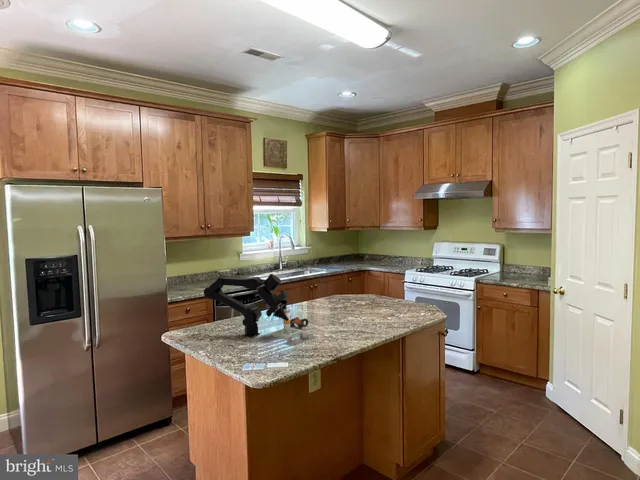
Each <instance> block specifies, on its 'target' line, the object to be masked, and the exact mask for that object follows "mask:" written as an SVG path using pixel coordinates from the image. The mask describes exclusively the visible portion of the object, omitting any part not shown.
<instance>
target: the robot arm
mask: <svg viewBox="0 0 640 480" xmlns="http://www.w3.org/2000/svg"><path fill="white" fill-rule="evenodd" d="M281 284H282V280H281V278H280V277H278V276H277V275H275V274H273V273H270V274H269V276H268V277H266V279H263V278H261V277H259V276H253V277H252V276H251V277H244V278H243V277H230V276H228V277H226V276H220V277H217V279H216V280H215V281H214V282H213V283H212V284H210V285H209V286H207V287H205V288H204V289H203V295H204V297H205V298H206V299H209V300H212V301H217V302H220V303H221V304H224V305H226V306H227V307H229V308H231V309H232V310H234V311H237V312H238V313H241V314H242V316H243V317H244V319H243V320H242V325H243V326H244V334H242V336H244V337H247V336H248V338H254V337H256V336H258V335H259V336H260V335H261V333H260V332H259V326H258V323H257V322H259V321H260V320H259V319H261V318H262V315H263V314H262V310H261V309H260V308H259V306H256V305H254V304H250V305H246V304H244V303H243V302H241V301H238V300H237V299H235V298H234V297H231V296H230V295H228V294H226V293H224V291H223V290H222V288H223V287H224V286H232V287H233V286H234V287H244V288H246V289H248V290H251V291H253V290H255V291H253V293H254V294H253V297H254V298H255V297H257V296H259V298H260V299H262V301H263V302H264V303H263V304H264V305H267V306H268V307H269V308H268V309H267V310H266V312H265V314H266V316H267V317H269V318H270V317H271V316H272V317H276V318H279V319H282V320H283V319H284V320H286V321H288V320H289V319H288V317H287V316H286V315H285V313H284V312H283V309H288V307H287V306H288V303H289V301H290V300H289V299H288V298H289V292H288V291H287V290H286V289H283V290H280V293H278V294H277V293H273V292H272V291H275V290H276V289H277V288H278V287H279V286H280V285H281ZM290 319H292V316H291V315H290Z"/></svg>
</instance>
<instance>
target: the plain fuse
mask: <svg viewBox="0 0 640 480" xmlns="http://www.w3.org/2000/svg"><path fill="white" fill-rule="evenodd" d="M309 333H310V327H309V326H306V327H302V338H303V339H307V334H309Z"/></svg>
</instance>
